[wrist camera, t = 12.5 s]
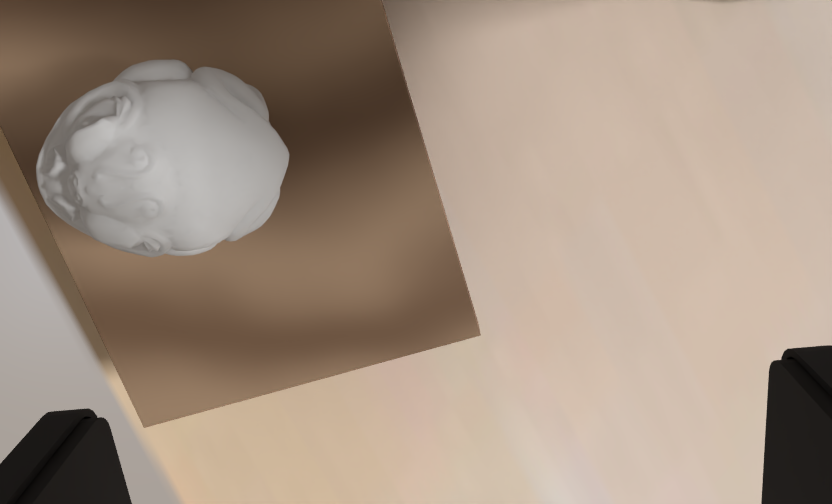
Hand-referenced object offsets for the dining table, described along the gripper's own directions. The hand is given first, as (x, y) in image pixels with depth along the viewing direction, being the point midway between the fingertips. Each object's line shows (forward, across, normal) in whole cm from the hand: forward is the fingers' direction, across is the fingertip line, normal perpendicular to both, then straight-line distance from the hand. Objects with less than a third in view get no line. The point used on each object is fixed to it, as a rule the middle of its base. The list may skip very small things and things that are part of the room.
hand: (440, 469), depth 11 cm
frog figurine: (+17, +8, -2) cm, 19 cm away
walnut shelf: (+23, +8, -2) cm, 25 cm away
